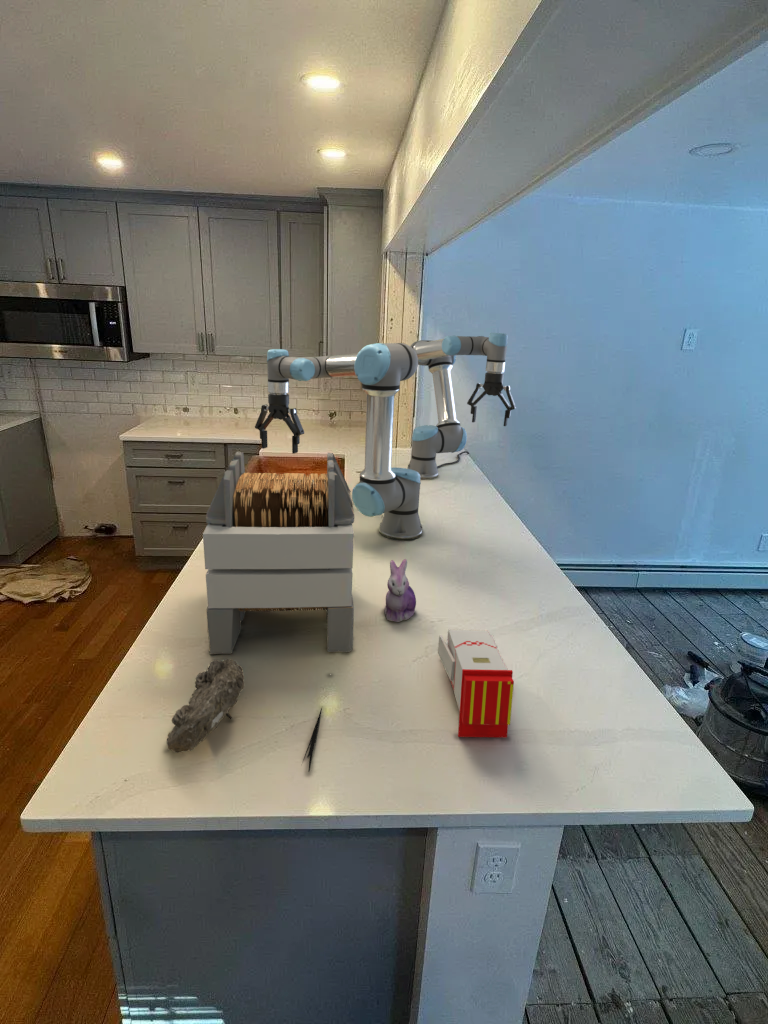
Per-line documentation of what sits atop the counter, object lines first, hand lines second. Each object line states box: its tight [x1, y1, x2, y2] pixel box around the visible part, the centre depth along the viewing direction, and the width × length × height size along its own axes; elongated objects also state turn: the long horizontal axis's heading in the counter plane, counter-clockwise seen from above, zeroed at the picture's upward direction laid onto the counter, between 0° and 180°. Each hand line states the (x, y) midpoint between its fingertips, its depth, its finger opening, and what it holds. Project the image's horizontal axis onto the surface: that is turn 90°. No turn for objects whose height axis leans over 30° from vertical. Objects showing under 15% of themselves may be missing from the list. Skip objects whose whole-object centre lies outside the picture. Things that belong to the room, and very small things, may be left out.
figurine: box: [384, 558, 417, 623], centre depth 145 cm, size 9×10×15 cm
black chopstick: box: [301, 673, 332, 771], centre depth 108 cm, size 2×28×2 cm
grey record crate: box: [202, 451, 355, 655], centre depth 137 cm, size 34×33×41 cm
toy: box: [437, 628, 515, 738], centre depth 117 cm, size 12×13×30 cm
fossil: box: [166, 658, 245, 754], centre depth 106 cm, size 22×10×15 cm
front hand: (279, 450), depth 213 cm, fingers open, 13 cm apart
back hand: (489, 423), depth 240 cm, fingers open, 13 cm apart
